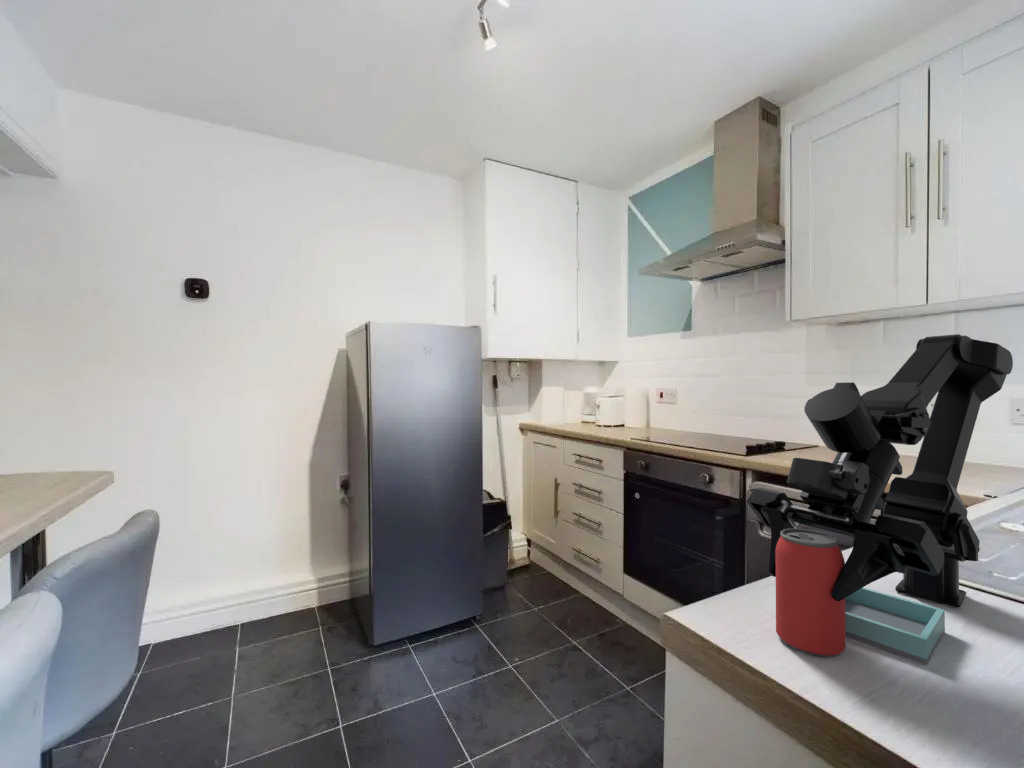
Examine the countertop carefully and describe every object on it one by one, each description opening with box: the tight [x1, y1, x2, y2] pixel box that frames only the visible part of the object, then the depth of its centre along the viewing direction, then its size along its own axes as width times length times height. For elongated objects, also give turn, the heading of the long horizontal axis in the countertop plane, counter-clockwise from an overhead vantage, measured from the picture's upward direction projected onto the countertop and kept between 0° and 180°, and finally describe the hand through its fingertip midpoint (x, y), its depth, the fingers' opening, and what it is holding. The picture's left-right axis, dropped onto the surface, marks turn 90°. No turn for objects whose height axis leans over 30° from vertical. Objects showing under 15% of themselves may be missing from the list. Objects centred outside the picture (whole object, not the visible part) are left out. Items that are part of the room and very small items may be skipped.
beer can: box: [775, 528, 847, 658], centre depth 51 cm, size 7×7×12 cm
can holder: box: [845, 586, 946, 666], centre depth 54 cm, size 10×10×3 cm
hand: (801, 585), depth 50 cm, fingers closed on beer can, 6 cm apart
